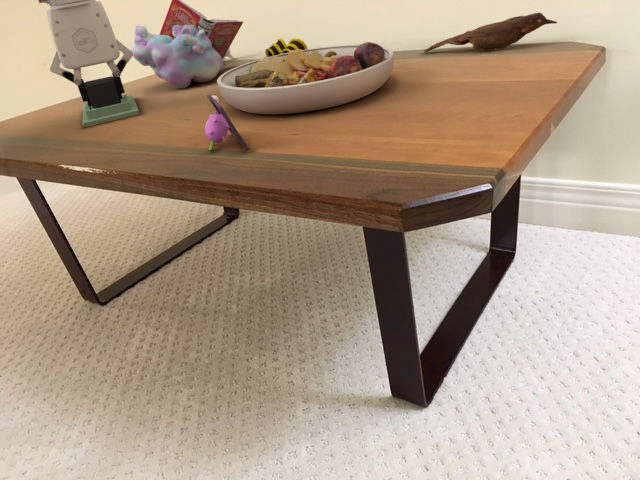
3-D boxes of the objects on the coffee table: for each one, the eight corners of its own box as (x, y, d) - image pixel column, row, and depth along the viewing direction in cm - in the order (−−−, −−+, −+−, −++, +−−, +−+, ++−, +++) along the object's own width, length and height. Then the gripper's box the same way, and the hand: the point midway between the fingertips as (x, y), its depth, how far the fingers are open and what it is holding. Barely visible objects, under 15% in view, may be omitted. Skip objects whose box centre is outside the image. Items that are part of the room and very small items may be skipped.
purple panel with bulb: (226, 102, 68) (213, 90, 76) (191, 125, 68) (181, 111, 75) (253, 146, 72) (238, 130, 79) (221, 168, 71) (208, 150, 79)
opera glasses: (267, 66, 126) (260, 46, 123) (283, 57, 129) (276, 36, 126) (294, 68, 120) (287, 46, 117) (311, 58, 122) (304, 36, 119)
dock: (83, 127, 97) (74, 101, 95) (83, 110, 110) (75, 86, 108) (139, 114, 99) (131, 88, 97) (133, 98, 113) (126, 75, 111)
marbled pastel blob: (114, 77, 111) (133, -10, 102) (142, 54, 129) (160, -22, 121) (209, 114, 115) (235, 33, 107) (223, 86, 133) (247, 15, 125)
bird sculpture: (429, 61, 113) (424, 37, 111) (559, 30, 101) (556, 2, 99) (422, 70, 108) (416, 45, 106) (558, 38, 96) (554, 9, 94)
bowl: (188, 122, 89) (175, 73, 85) (276, 75, 112) (268, 35, 108) (357, 120, 76) (350, 63, 72) (417, 68, 99) (414, 22, 95)
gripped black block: (92, 108, 99) (85, 86, 97) (92, 102, 104) (85, 81, 102) (120, 102, 100) (113, 80, 98) (118, 96, 105) (112, 76, 103)
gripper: (16, 6, 88) (57, 116, 97) (122, -12, 92) (153, 94, 101) (20, 5, 94) (59, 107, 103) (119, -12, 99) (149, 88, 107)
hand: (105, 100), depth 102 cm, fingers closed on gripped black block, 4 cm apart
